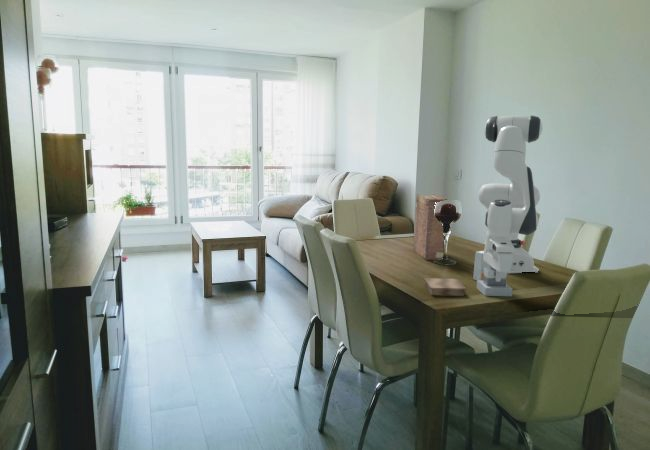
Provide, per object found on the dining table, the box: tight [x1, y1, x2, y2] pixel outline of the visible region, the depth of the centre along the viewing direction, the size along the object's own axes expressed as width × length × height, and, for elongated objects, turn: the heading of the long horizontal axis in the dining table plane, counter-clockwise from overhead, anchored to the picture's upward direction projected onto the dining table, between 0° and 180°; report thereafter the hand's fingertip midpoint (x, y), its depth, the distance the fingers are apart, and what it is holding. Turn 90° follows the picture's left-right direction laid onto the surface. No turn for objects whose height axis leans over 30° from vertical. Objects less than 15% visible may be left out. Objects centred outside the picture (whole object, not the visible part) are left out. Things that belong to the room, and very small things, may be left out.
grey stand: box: [476, 280, 513, 297], centre depth 180 cm, size 10×10×3 cm
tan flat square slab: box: [423, 277, 467, 297], centre depth 180 cm, size 13×13×3 cm
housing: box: [483, 267, 508, 286], centre depth 179 cm, size 7×4×6 cm, turn 89°
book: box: [413, 194, 448, 261], centre depth 241 cm, size 25×9×30 cm, turn 2°
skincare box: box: [472, 250, 489, 281], centre depth 196 cm, size 6×4×12 cm
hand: (494, 278), depth 179 cm, fingers closed on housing, 4 cm apart
